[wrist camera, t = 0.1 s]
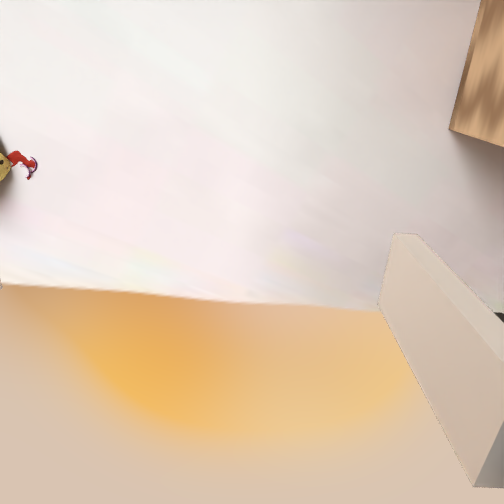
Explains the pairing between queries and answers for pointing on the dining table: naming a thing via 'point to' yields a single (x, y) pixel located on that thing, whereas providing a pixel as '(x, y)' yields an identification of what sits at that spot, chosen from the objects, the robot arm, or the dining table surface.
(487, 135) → the toolbox
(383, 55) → the dining table surface
